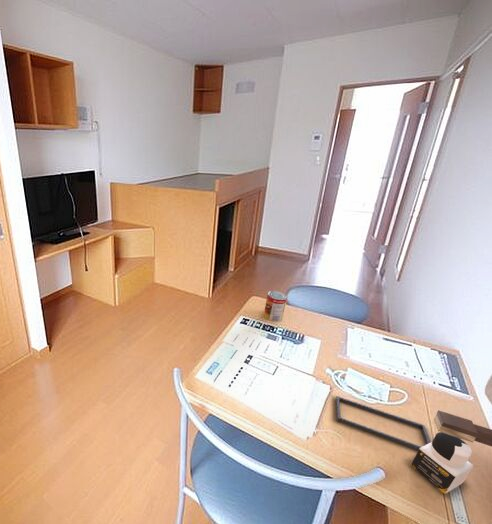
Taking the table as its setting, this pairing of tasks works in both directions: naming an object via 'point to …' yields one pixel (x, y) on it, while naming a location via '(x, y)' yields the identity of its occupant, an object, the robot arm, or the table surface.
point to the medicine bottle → (444, 461)
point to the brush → (462, 428)
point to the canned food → (275, 306)
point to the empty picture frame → (384, 416)
